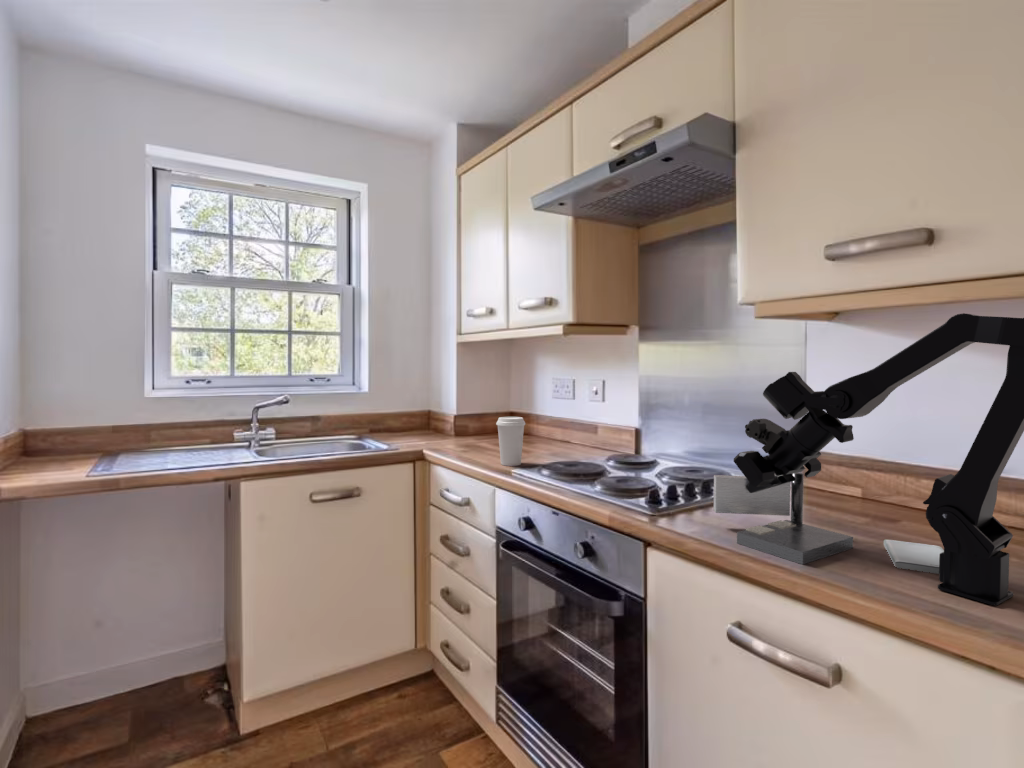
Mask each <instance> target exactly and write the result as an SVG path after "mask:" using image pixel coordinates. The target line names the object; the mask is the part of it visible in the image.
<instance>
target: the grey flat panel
mask: <svg viewBox="0 0 1024 768" xmlns="http://www.w3.org/2000/svg"><path fill="white" fill-rule="evenodd" d="M749 483H750V482H749V481H748V479H747V478H746V477H745V476H744V475H721V474H720V475H718V474H714V475H713V511H714V513H716V514H735V515H736V514H737V515H739V514H740V515H757V516H758V515H761V516H762V515H763V516H784V517H787V516H788V517H789V516H790V517H791V482H788V483H785V484H781V485H778V486H775V487H771V488H768V489H764V490H761V491H758V492H754V493H750V492H749V491H748V490H747V488H748V485H749Z"/></svg>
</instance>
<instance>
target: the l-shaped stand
mask: <svg viewBox="0 0 1024 768" xmlns="http://www.w3.org/2000/svg"><path fill="white" fill-rule="evenodd" d="M792 475H793V476H794V477H795V481H792V482H790V520H789V519H785V520H783V519H781V520H776V521H772V522H769V523H767V524H765V525H757V526H751V527H748V528H745V529H743V530H740V531H737V532H736V544H738V545H742V546H744V547H748V548H751V549H754V550H757V551H759V552H763V553H766V554H769V555H772V556H776V557H779V558H781V559H784V560H787V561H790V562H794V563H797V564H799V565H802V566H803V565H805V564H809V563H812V562H815V561H818V560H821V559H825V558H827V557H829V556H833V555H836V554H839V553H843V552H845V551H846V552H847V551H849V550H852V549H853V548H854V545H853V544H854V536H852V535H848V534H845V533H844V534H843V533H840V532H835V531H832V530H828V529H825V528H821V527H817V526H813V525H809V524H806V523H803V521H804V519H803V516H804V514H803V513H804V509H803V507H804V473H802V472H797V473H792Z"/></svg>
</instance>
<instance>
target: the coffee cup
mask: <svg viewBox="0 0 1024 768" xmlns="http://www.w3.org/2000/svg"><path fill="white" fill-rule="evenodd" d="M495 425H496V426H497V432H498V433H497V435H498V445H499V446H498V448H499V457H500V465H501V466H506V467H507V466H509V467H516V466H521V465H522V454H523V442H524V432H525V426H526V425H527V424H526V421H525V420H524V417H521V416H500V417H498V419H497V421H496V423H495Z"/></svg>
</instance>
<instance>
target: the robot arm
mask: <svg viewBox="0 0 1024 768" xmlns="http://www.w3.org/2000/svg"><path fill="white" fill-rule="evenodd" d="M975 343H980V344H981V343H982V344H990V345H1001V346H1008V347H1009V348H1008V352H1007V359H1006V374H1005V378H1004V380H1003V382H1002V384H1001V386H1000V388H999V390H998V391H997V394H996V396H995V397H994V400H993V402H992V404H991V406H990V409H989V410H988V412H987V414H986V416H985V418H984V420H983V422H982V425H981V426H980V428H979V430H978V433H977V435H976V437H975V438H974V440H973V443H972V444H971V447H970V448H969V450H968V453H967V455H966V457H965V458H964V460H963V462H962V465H961V467H960V469H959V470H958V471H957V472H956V473H955V475H953V474H952V473H950V474H949V473H948V474H946V475H943V476H941V477H937V478H935V479H934V482H933V485H932V489H931V493H930V495H929V496H928V498H926V499H925V500H924V501H923V502H922V504H923V505H927V507H926V510H925V518H926V520H927V522H928V523H929V525H930V527H931V528H932V529H933V530H934V531H935V532H936V533H938V536H939V538H940V541H941V544H942V546H943V550H944V552H942V553H940V557H939V574H938V581H939V582H940V583H939V584H937V589H938V590H941V591H942V592H947V593H951V594H954V595H957V596H960V597H963V598H967V599H971V600H974V601H977V602H980V603H984V604H987V605H991V606H999V605H1001V603H1004V602H1005V601H1007V600H1009V599H1011V598H1013V597H1014V591H1011V590H1009V577H1010V576H1009V575H1010V553H1009V552H1005V551H1002V550H1003V549H1006V548H1007V547H1008V546H1009V545H1010V542H1011V541H1012V539H1013V537H1014V535H1013V533H1012V532H1011V531H1009V529H1007V528H1006V527H1005V526H1004V525H1003V524H1002V523H1001V522H1000V521H999V520H998V519H997V518H995V516H993V514H994V511H995V509H996V508H995V507H996V503H997V497H998V485H999V484H998V483H999V480H1000V477H1001V476H1002V473H1003V472H1004V470H1005V468H1006V466H1007V464H1008V462H1009V461H1010V458H1011V456H1012V455H1013V453H1014V450H1015V448H1016V447H1017V445H1018V442H1019V441H1020V440H1021V437H1022V436H1023V434H1024V317H1009V316H1006V317H1005V316H989V315H977V314H972V313H964V312H963V313H958V314H955V315H953V316H951V317H950V318H948V319H947V321H945V323H943V324H942V325H940V326H939V327H937V328H935V329H934V330H933V331H931V332H929V333H927V334H925V335H924V336H923V337H922V338H920V339H918V340H917V341H915V342H913V343H912V344H910V345H909V346H907V347H905V348H904V349H902V350H900V351H899V352H898V353H896V354H894V355H893V356H891V357H890V358H888V359H887V360H885V361H884V362H882V363H880V364H879V365H877V366H875V367H873V368H872V369H870V370H867V371H865V372H861V373H858V374H856V375H854V376H851V377H848V378H845V379H843V380H841V381H837V383H834V384H831V385H829V386H828V387H827V388H826V389H825V390H821V391H818V390H817V391H814V390H813V388H811V387H810V385H808V384H807V383H806V382H805V381H804V380H803V378H802V376H801V375H800V374H798V372H796V371H788V372H787V373H786V374H785V375H784V376H780V378H778V379H776V380H775V381H773V382H772V383H771V382H770V384H768V385H767V386H766V388H765V389H764V390H763V392H762V396H763V397H764V399H766V400H767V401H768V402H769V404H771V406H773V408H774V409H775V410H776V411H777V412H778V413H779V414H780V415H781V416H782V417H783V418H784V419H785V420H787V419H791V418H792V420H794V421H795V420H799V421H797V422H796V424H794V426H792V427H791V428H790V429H789V430H788V429H787V430H786V428H784V427H782V426H780V425H779V424H777V423H775V422H774V421H772V420H769V419H767V418H755V419H753V418H752V420H749V421H748V423H747V424H745V426H744V428H745V431H744V432H745V435H746V436H747V437H748V438H750V439H751V438H752V439H753V440H755V441H757V442H758V443H760V444H761V445H763V446H762V447H761V449H762V451H764V453H765V454H768V455H765V456H763V455H762V454H761V453H760V452H759V450H758V451H757V450H748V451H739V452H738V454H737V455H736V456H734V458H733V463H734V464H735V465H736V467H737V468H738V469H739V471H741V473H742V474H743V476H745V477H746V478H747V479H748V481H749V482H750V483H749V485H748V488H747V490H748V491H749V492H750V493H754V492H758V491H761V490H764V489H768V488H771V487H775V486H778V485H781V484H785V483H788V482H790V483H791V482H792V481H795V477H794V476H793V475H792V473H802V472H803V471H805V469H807V471H805V472H804V476H805V477H806V478H812V477H815V476H817V474H818V473H820V472H821V471H822V462H821V461H820V460H819V459H818V458H819V457H821V455H822V453H821V452H820V451H821V450H823V449H824V448H825V447H826V446H827V445H828V444H830V443H831V442H832V441H833V440H834V439H836V440H837V441H838V442H839V443H840V444H841V443H842V444H843V443H844V444H845V443H847V442H852V441H854V439H855V437H854V434H853V425H852V424H845V423H843V422H842V421H841V420H846V419H856V418H861V417H862V418H863V417H865V416H868V415H869V414H870V413H872V412H873V411H874V410H875V409H876V408H877V407H879V406H880V405H881V404H882V403H884V402H885V400H886V399H887V398H888V397H889V396H890V395H891V393H893V391H894V390H896V389H897V388H898V387H900V386H902V385H903V384H905V383H907V382H908V381H910V380H912V379H914V378H915V377H917V376H919V375H921V374H922V373H924V372H925V371H927V370H930V369H931V368H932V367H934V366H936V365H937V364H939V363H941V362H943V361H945V360H946V359H948V358H949V357H951V356H953V355H955V354H956V353H958V352H960V351H962V350H963V349H965V348H966V347H968V346H970V345H971V344H972V345H973V344H975ZM800 418H801V419H800Z"/></svg>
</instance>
